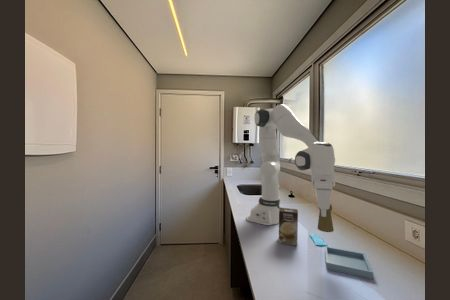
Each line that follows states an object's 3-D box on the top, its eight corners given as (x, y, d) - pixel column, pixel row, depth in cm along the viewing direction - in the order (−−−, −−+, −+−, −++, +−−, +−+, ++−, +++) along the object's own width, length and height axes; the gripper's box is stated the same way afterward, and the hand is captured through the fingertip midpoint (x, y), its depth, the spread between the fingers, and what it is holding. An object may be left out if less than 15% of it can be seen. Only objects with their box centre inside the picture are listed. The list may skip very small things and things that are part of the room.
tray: (326, 268, 78) (326, 262, 77) (324, 251, 90) (324, 246, 90) (373, 279, 71) (373, 272, 71) (364, 259, 84) (364, 253, 84)
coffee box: (278, 243, 98) (278, 210, 98) (279, 237, 104) (279, 207, 104) (297, 246, 95) (297, 212, 95) (297, 240, 101) (297, 208, 101)
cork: (314, 226, 85) (314, 201, 85) (328, 226, 86) (327, 200, 86) (322, 232, 79) (321, 205, 79) (336, 231, 80) (336, 204, 80)
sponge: (320, 234, 106) (309, 232, 107) (328, 245, 94) (316, 243, 95) (320, 237, 106) (308, 235, 107) (328, 249, 95) (315, 246, 95)
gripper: (315, 176, 93) (315, 206, 93) (314, 184, 75) (314, 221, 75) (330, 177, 90) (330, 207, 91) (333, 185, 72) (333, 223, 72)
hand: (323, 213), depth 83 cm, fingers closed on cork, 4 cm apart
